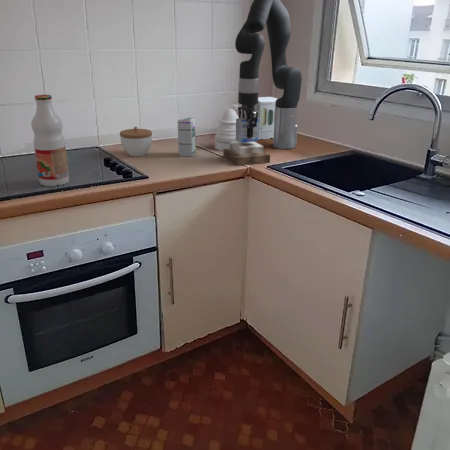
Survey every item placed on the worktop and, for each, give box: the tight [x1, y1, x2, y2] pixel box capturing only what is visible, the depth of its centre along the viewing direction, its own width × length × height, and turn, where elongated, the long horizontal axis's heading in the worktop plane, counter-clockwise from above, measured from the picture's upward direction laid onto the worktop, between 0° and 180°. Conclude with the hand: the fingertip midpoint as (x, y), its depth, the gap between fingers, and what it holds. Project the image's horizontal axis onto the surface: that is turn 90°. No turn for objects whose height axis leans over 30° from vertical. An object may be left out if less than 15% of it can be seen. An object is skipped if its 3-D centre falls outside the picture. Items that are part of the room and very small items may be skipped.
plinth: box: [222, 141, 271, 166], centre depth 183 cm, size 14×14×6 cm
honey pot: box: [214, 104, 239, 152], centre depth 198 cm, size 13×13×18 cm
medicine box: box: [236, 118, 259, 143], centre depth 179 cm, size 8×4×9 cm, turn 117°
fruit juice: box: [31, 94, 70, 187], centre depth 148 cm, size 9×9×28 cm
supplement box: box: [254, 96, 279, 141], centre depth 220 cm, size 13×13×18 cm
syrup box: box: [177, 117, 197, 158], centre depth 186 cm, size 6×6×14 cm
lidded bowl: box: [119, 126, 153, 157], centre depth 187 cm, size 13×13×11 cm
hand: (247, 136), depth 180 cm, fingers closed on medicine box, 4 cm apart
